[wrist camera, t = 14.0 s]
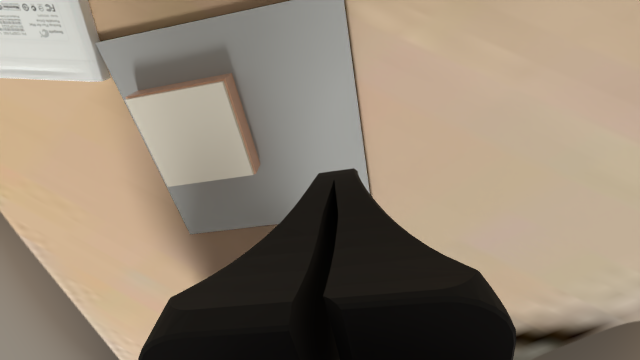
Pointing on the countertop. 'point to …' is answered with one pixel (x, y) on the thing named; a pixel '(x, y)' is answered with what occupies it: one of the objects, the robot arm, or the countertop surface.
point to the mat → (259, 101)
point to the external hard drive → (50, 41)
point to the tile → (196, 130)
